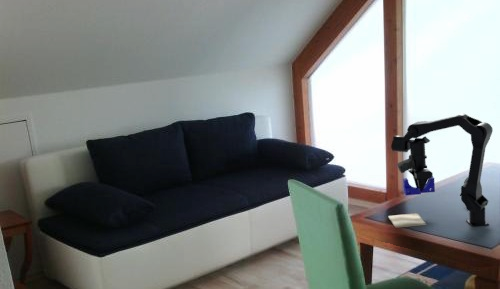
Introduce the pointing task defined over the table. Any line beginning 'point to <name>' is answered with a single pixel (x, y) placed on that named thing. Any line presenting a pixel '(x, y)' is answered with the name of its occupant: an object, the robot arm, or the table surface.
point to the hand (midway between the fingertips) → (419, 189)
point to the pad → (406, 220)
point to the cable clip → (415, 191)
